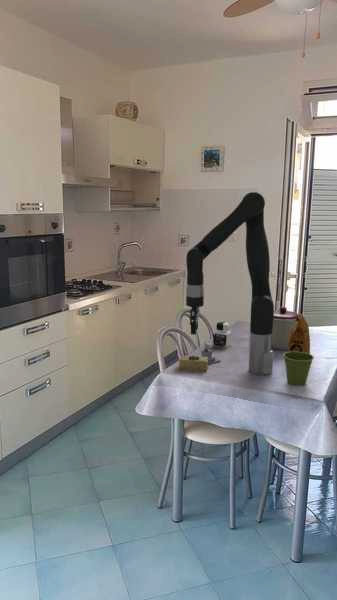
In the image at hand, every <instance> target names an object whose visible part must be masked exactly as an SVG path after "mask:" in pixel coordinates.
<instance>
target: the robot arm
mask: <svg viewBox="0 0 337 600" xmlns="http://www.w3.org/2000/svg"><path fill="white" fill-rule="evenodd" d="M265 205H266V199H265V198H264V196H263V195H262V194H261V193H259V192H256V191H250V192H248V193H247V194H245V195H244V196H243V197H242V199H241V201H240V202H239V204H238V205H237V206H236V208H234V210H233V211H232V212H231V213H230V214H229V215H228V216H226V217H225V218H224V219H223V220H222V221H220V222H219V223H218V224H217V225H216V226H215V227H214V228H212V229H211V230H210V231H209V232H208V233H207V234H206V235H205V236H203V237H202V240H200V241H199V242H198V243H196V244H195V245H194V246H193V247H192V248H191V249H189V250H188V251H187V253H186V259H185V260H186V270H187V271H186V272H187V274H186V288H185V289H186V290H185V305H186V306H187V307H190V308H191V309H189V325H190V334H191V335H196V334H197V330H198V329H199V321H200V320H199V318H200V307H201V308H202V307H203V306H204V300H205V299H204V298H205V295H204V294H205V288H204V287H205V285H204V278H205V277H204V271H203V270H204V269H203V268H204V260H205V259H206V258H208V257H209V255H211V253H212V252H214V251H215V250H217V249H218V248H219V247H220V246H221V245H222V244H224V243H225V241H226V240H228V239H229V238H230V236H232V234H234V232H235V231H236V230H238V229H239V228H240V226H242V225H244V224H245V229H246V230H245V231H246V234H245V235H246V236H245V254H246V264H247V269H248V275H249V277H250V282H251V302H250V303H251V304H250V305H251V306H250V324H249V327H250V329H249V349H248V350H249V353H248V372H249V373H250V374H255V375H260V376H266V375H270V374H272V373H273V367H274V351H273V350H272V349H273V348H272V330H273V317H274V311H275V304H274V301H273V297H272V292H271V287H270V270H271V269H270V263H271V262H270V250H269V243H268V237H267V233H266V231H265V229H266V228H265V223H264V222H265V221H264V218H265V217H264V213H265Z"/></svg>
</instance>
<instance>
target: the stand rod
mask: <svg viewBox="0 0 337 600" xmlns="http://www.w3.org/2000/svg"><path fill="white" fill-rule="evenodd" d="M190 356H191V360H197V357H198V355H193V354H192V355H190Z"/></svg>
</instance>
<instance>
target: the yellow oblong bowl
mask: <svg viewBox="0 0 337 600" xmlns="http://www.w3.org/2000/svg"><path fill="white" fill-rule="evenodd" d="M191 356H192V355H180V357H179V363H178V364H179V367H178V369H181V371H195V370H198V372H208V367H209V365H208V357H198V356H197V360H191Z"/></svg>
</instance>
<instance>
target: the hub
mask: <svg viewBox="0 0 337 600" xmlns="http://www.w3.org/2000/svg"><path fill="white" fill-rule="evenodd" d="M200 351H201V354H200V355H197V357H208V366H210V365H213V363H214V364H217V363H220V362H221V360H220V359H217V358H216V356H214V355H213V350H211V349H210V343H209V342H205V343H203V349H202V350H200ZM209 364H210V365H209Z"/></svg>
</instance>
